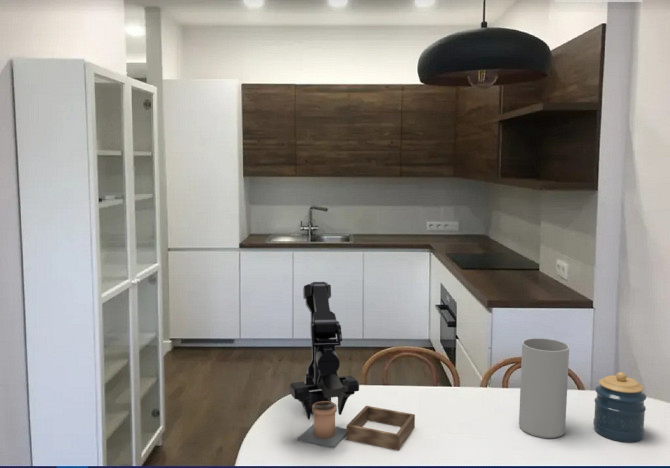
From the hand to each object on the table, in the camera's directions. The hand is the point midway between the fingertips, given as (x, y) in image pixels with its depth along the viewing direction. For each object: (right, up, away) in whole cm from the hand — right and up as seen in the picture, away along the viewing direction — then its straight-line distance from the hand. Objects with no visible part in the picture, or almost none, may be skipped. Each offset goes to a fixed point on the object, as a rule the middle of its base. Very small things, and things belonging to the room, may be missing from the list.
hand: (324, 416), depth 159 cm
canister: (+84, -6, +4) cm, 84 cm away
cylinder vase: (+62, -6, +6) cm, 63 cm away
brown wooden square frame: (+16, -5, +2) cm, 17 cm away
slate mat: (0, -6, +1) cm, 6 cm away
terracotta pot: (0, -5, +1) cm, 5 cm away
